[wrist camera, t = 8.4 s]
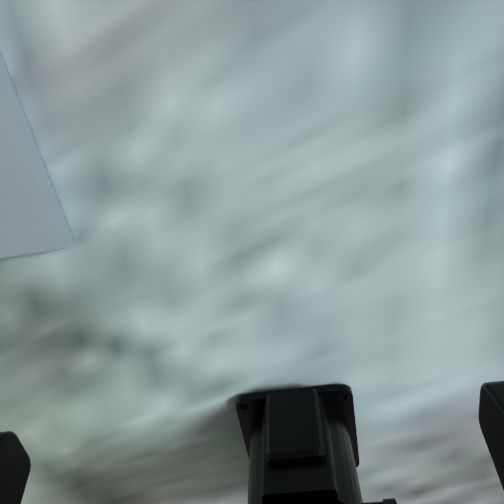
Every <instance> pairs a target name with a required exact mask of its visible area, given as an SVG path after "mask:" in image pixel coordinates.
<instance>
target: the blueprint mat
mask: <svg viewBox="0 0 504 504" xmlns="http://www.w3.org/2000/svg"><path fill="white" fill-rule="evenodd" d="M72 241H73V236H72V234H71V231H70V229H69V226H68V224H67V221H66V219H65V216H64V213H63V211H62V208H61V206H60V203H59V201H58V198H57V196H56V193H55V191H54V188H53V185H52V183H51V180H50V178H49V175H48V173H47V170H46V168H45V165H44V163H43V160H42V157H41V155H40V152H39V150H38V147H37V145H36V142H35V140H34V137H33V135H32V132H31V129H30V127H29V124H28V122H27V119H26V117H25V114H24V112H23V109H22V106H21V104H20V101H19V99H18V96H17V94H16V91H15V89H14V86H13V84H12V81H11V78H10V76H9V73H8V71H7V68H6V66H5V63H4V61H3V58H2V56H1V53H0V258H7V257H13V256H20V255H27V254H34V253H41V252H47V251H54V250H61V249H66V247H67V246H68V245H69V244H70V243H71V242H72Z"/></svg>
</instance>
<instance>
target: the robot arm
mask: <svg viewBox="0 0 504 504" xmlns="http://www.w3.org/2000/svg"><path fill="white" fill-rule="evenodd" d="M342 393H346V394H343V395H341V394H342ZM243 403H246V405H245V404H243ZM236 410H237V414H238V418H239V421H240V425H241V429H242V433H243V437H244V441H245V444H246V448H247V452H248V456H249V482H248V504H397V503H396V500H395V498H392V499H383V501H381V502H369V503H363V502H362V496H361V491H360V486H359V481H358V476H357V470H356V467H358V465H359V455H358V445H357V435H356V425H355V415H354V405H353V395H352V391H351V388H350V387H349V386H347V385H332V386H323V387H313V388H303V389H294V390H284V391H275V392H265V393H256V394H246V395H241V396H239V397H238V398H237V399H236ZM479 423H480V427H481V430H482V433H483V436H484V438H485V441H486V444H487V446H488V449H489V452H490V454H491V457H492V460H493V463H494V465H495V468H496V471H497V473H498V476H499V479H500V481H501V484H502V487H503V489H504V381H498V382H488V383H484V384H483V385H482V386H481V390H480V403H479ZM30 466H31V464H30V458H29V456H28V454H27V452H26V450H25V449H24V447H23V445H22V444H21V442H20V440H19V439H18V437H17V435H16V434H15V433H13V432H11V431H7V432H0V504H21V500H22V497H23V493H24V490H25V486H26V483H27V479H28V476H29V472H30Z"/></svg>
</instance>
